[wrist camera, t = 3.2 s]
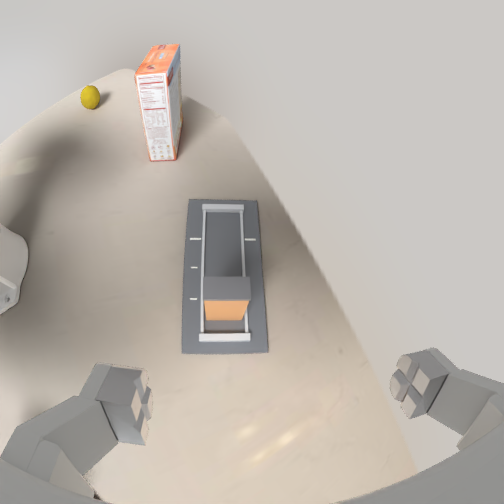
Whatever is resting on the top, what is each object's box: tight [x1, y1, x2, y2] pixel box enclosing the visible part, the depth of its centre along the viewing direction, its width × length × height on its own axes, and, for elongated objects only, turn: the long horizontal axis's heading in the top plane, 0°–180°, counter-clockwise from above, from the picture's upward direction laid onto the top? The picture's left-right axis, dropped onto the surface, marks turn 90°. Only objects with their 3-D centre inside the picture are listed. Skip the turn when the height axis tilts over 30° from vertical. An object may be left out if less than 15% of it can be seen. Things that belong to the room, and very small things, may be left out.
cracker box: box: [134, 44, 183, 161], centre depth 46 cm, size 14×6×21 cm, turn 3°
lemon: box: [81, 85, 100, 109], centre depth 56 cm, size 6×6×8 cm
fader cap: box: [203, 277, 251, 320], centre depth 35 cm, size 3×5×10 cm, turn 93°
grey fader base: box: [182, 199, 268, 354], centre depth 42 cm, size 26×12×2 cm, turn 3°
